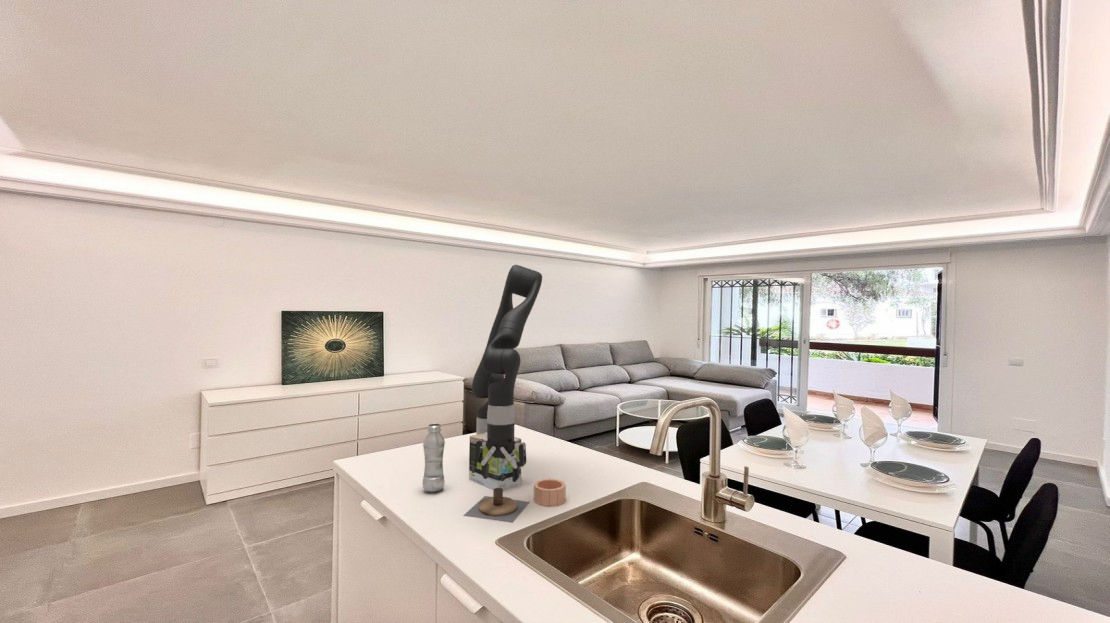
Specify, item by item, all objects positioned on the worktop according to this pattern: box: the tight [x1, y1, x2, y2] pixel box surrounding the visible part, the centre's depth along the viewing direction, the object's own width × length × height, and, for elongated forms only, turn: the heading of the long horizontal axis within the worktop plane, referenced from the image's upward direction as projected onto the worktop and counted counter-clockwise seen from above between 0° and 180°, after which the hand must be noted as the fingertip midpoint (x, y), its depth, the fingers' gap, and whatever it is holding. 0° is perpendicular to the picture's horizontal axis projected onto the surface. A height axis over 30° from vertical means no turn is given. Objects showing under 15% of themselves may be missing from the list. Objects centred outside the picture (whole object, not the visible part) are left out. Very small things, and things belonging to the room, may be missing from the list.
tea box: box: [468, 433, 522, 491], centre depth 150 cm, size 15×10×15 cm
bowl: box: [533, 478, 567, 507], centre depth 135 cm, size 9×9×5 cm
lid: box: [479, 488, 517, 516], centre depth 129 cm, size 10×10×5 cm
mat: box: [462, 495, 531, 524], centre depth 129 cm, size 14×14×1 cm
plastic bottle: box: [421, 423, 446, 493], centre depth 142 cm, size 6×7×20 cm
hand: (500, 479), depth 129 cm, fingers open, 8 cm apart
